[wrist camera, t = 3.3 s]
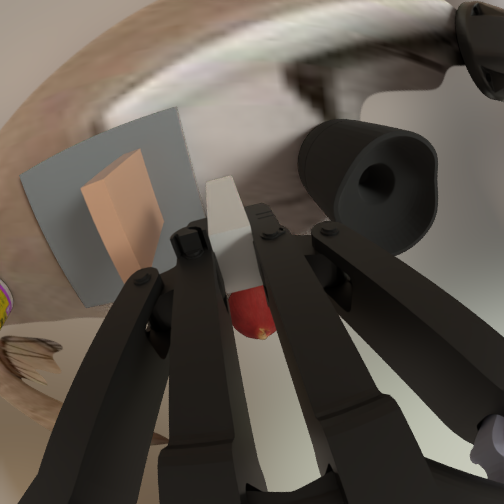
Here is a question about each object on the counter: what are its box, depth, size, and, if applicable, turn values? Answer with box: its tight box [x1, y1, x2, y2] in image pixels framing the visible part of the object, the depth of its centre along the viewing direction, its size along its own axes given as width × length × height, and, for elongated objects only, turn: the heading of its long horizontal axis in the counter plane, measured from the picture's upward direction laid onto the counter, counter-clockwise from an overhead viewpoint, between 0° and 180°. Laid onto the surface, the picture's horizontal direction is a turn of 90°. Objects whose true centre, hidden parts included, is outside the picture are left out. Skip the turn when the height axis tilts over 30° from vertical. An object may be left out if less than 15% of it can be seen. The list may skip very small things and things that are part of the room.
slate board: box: [19, 107, 207, 308], centre depth 24 cm, size 17×17×1 cm
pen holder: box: [298, 119, 438, 256], centre depth 21 cm, size 9×9×10 cm
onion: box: [228, 285, 276, 340], centre depth 28 cm, size 6×6×8 cm
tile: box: [80, 149, 164, 284], centre depth 18 cm, size 2×7×9 cm, turn 10°
